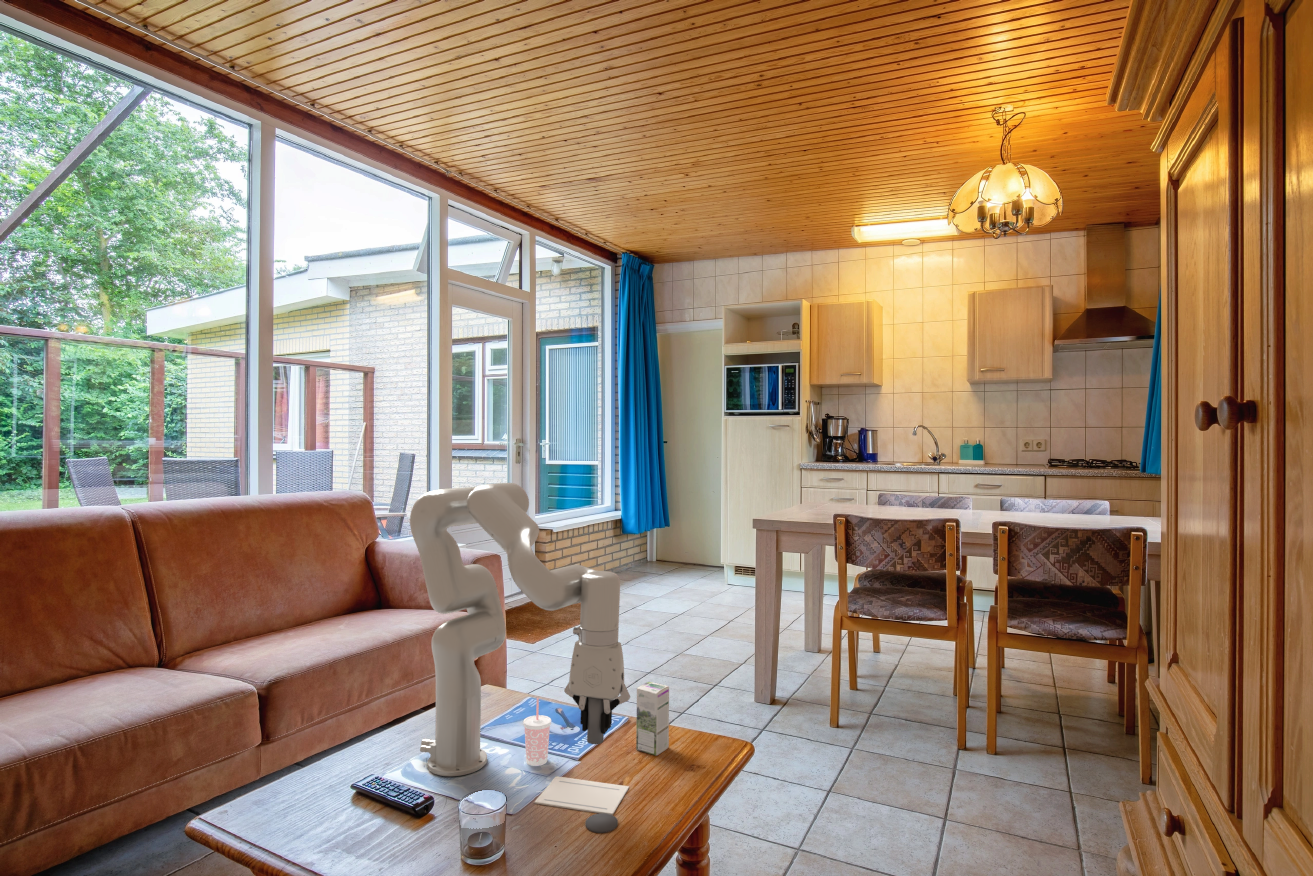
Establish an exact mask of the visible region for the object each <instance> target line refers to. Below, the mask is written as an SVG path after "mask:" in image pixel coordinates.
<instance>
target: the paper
mask: <svg viewBox="0 0 1313 876" xmlns="http://www.w3.org/2000/svg"><path fill="white" fill-rule="evenodd" d="M629 789H630V786H629V785H621V784H616V783H615V784H614V783H606V782H600V781H593V780H587V779H578V778H570V777H565V776H555V777H554V778H553V779H552V780H551V781H550V782H549V784H548V785H547V786H546V787H545V789H544V790H543V791H542V792H541V793H540V794H539V796H538V797H537V798H536V799H535V801H534V804H536V805H543V806H549V807H556V808H557V807H558V808H563V809H568V810H569V809H570V810H575V811H582V812H587V813H589V812H590V813H595V814H600V813H605V814H610V815H613V816H614V814H615V812H616V810H617V808H618V807H619V806H620V803H621V802H622V800H623V799H624V797H625V795H626V794H627V792H628V790H629Z"/></svg>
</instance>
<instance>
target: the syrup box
mask: <svg viewBox="0 0 1313 876" xmlns="http://www.w3.org/2000/svg"><path fill="white" fill-rule="evenodd" d="M669 718H670V686H669V685H665V684H660V683H657V682H652V681H648V682H645V683H643V684H641V685H640V686H638V687H637V688H636V719H635V720H636V722H635V723H636V724H635V725H636V729H635V730H636V734H635V736H636V738H635V739H636V741H635V742H636V743H635V744H636V745H635V747H636V748H635V749H636V751H639V752H643V753H647V754H650V755H652V756H659V755H661V753H663V752H664V751H666V750H667V749H668V748H669V747H670V743H669V742H670V741H669V739H670V737H669V735H670V734H669V733H670V728H669V727H670V724H669V723H670V722H669V721H670V719H669Z"/></svg>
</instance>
